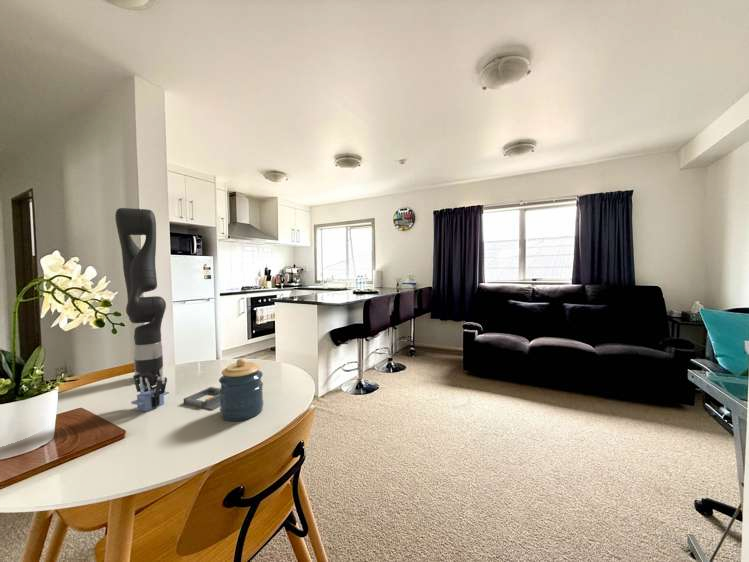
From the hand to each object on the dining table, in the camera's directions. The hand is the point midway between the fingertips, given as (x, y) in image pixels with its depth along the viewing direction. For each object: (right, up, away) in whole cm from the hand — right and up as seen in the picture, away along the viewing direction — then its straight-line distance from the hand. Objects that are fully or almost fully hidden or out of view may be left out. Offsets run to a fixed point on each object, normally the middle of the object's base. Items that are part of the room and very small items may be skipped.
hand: (151, 405), depth 102 cm
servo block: (0, -1, 0) cm, 1 cm away
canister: (+33, -1, -4) cm, 33 cm away
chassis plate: (+18, 0, +5) cm, 19 cm away
